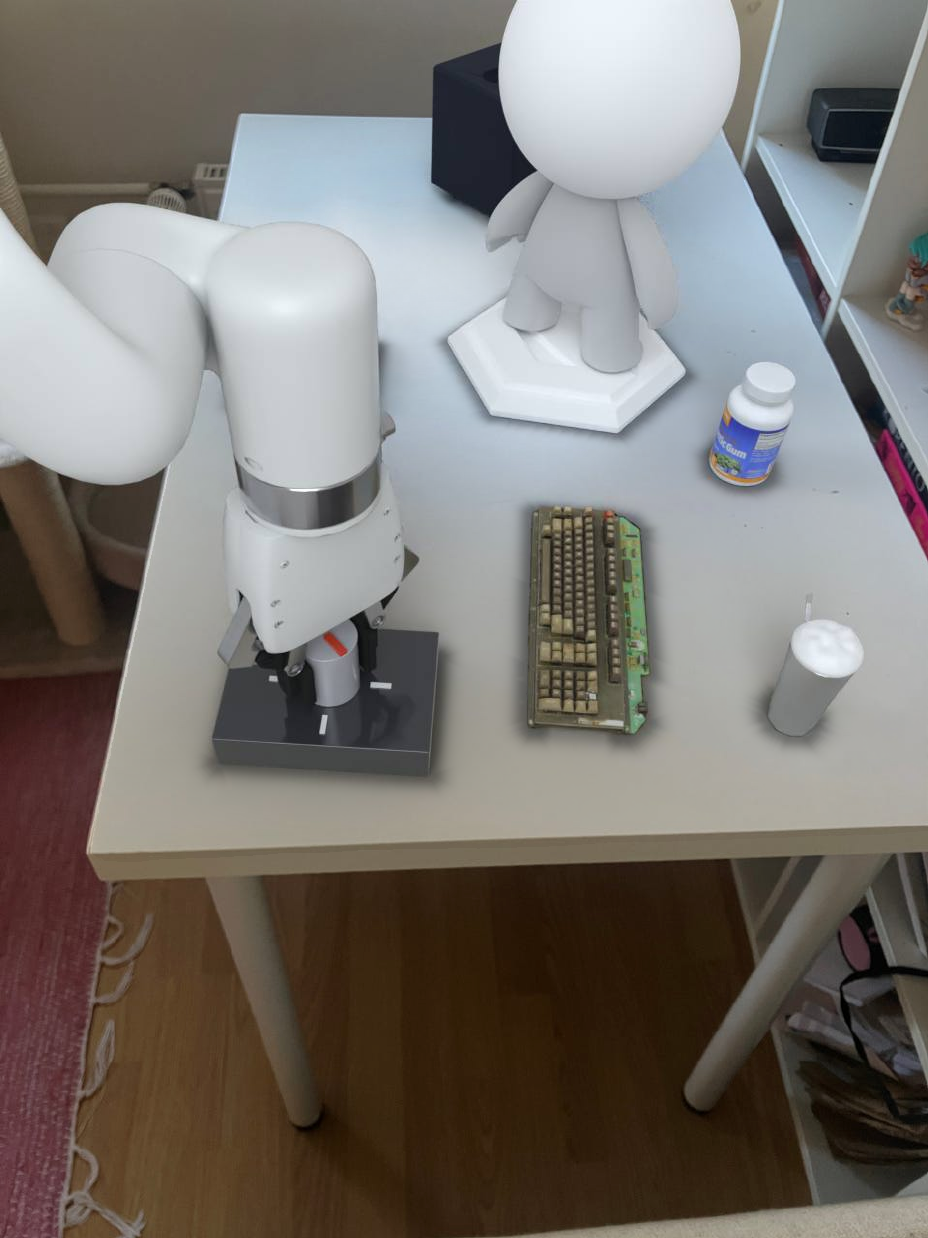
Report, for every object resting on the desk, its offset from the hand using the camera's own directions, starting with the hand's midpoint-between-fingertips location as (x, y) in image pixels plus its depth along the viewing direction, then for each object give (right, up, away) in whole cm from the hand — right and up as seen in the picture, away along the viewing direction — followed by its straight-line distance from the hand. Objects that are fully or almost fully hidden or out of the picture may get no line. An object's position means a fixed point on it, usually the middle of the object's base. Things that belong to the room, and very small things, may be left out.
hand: (329, 673), depth 67 cm
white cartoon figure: (+19, +28, +30) cm, 46 cm away
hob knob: (0, -1, +1) cm, 1 cm away
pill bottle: (+33, +17, +21) cm, 43 cm away
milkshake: (+32, -3, +5) cm, 32 cm away
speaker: (+17, +54, +51) cm, 76 cm away
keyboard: (+18, +4, +10) cm, 21 cm away
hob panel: (0, -3, +3) cm, 4 cm away
